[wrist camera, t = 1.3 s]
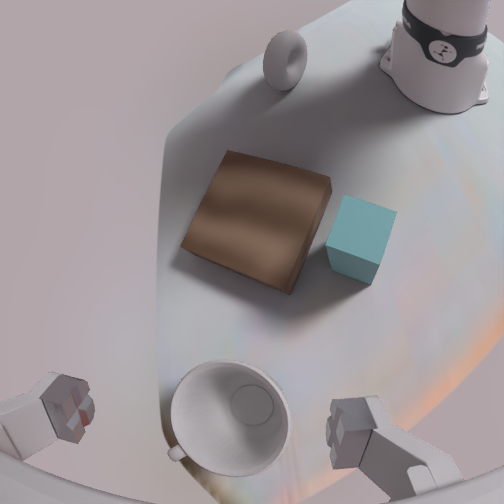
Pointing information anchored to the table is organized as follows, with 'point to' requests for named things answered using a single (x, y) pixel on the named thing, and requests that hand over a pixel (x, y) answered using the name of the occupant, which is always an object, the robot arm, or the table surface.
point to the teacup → (229, 418)
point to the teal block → (359, 238)
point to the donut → (285, 60)
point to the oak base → (259, 219)
